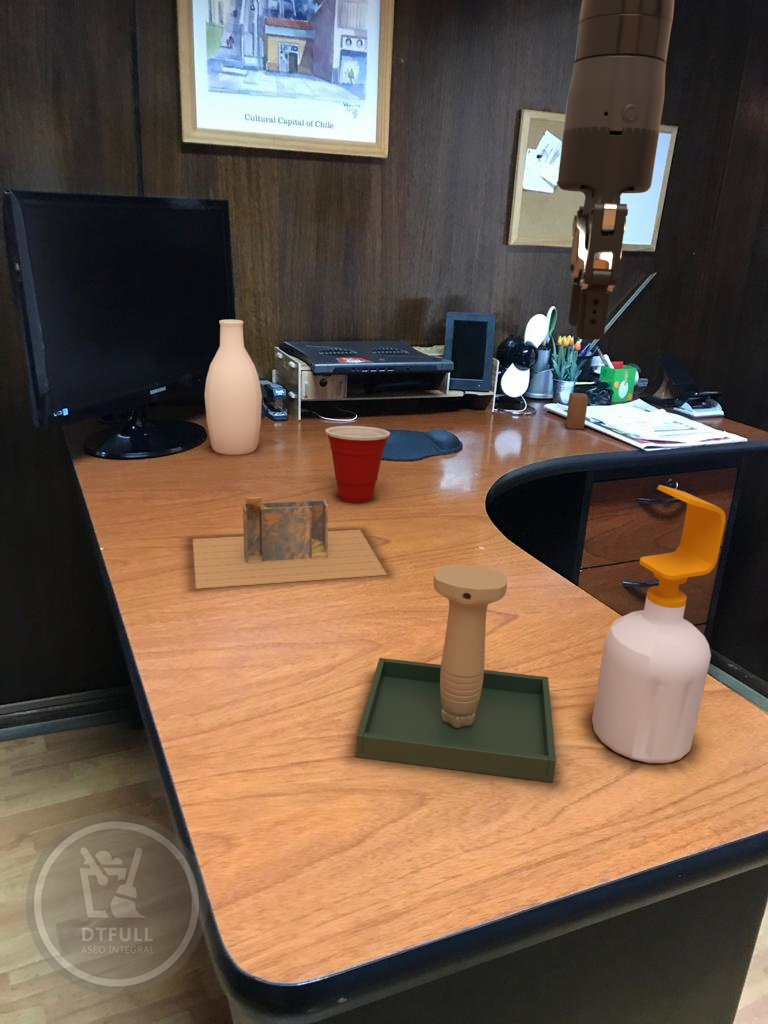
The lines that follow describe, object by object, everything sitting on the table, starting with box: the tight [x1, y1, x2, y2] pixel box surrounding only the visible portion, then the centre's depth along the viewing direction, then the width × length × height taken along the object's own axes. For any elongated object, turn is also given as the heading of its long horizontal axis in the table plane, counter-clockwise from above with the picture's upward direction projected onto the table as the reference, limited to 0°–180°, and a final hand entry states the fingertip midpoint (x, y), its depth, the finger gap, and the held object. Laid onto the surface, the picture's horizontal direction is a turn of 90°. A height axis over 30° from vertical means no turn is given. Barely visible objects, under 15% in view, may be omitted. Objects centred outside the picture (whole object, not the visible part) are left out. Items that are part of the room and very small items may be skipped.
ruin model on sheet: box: [192, 495, 388, 590], centre depth 106 cm, size 25×16×10 cm, turn 104°
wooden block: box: [565, 392, 589, 430], centre depth 185 cm, size 4×4×8 cm
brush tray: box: [355, 657, 557, 783], centre depth 73 cm, size 17×13×2 cm
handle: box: [433, 564, 508, 728], centre depth 71 cm, size 5×6×15 cm
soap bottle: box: [591, 484, 727, 764], centre depth 69 cm, size 9×9×25 cm
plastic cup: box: [325, 425, 391, 504], centre depth 131 cm, size 11×11×12 cm
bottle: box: [204, 319, 263, 456], centre depth 152 cm, size 11×11×25 cm
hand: (584, 331), depth 68 cm, fingers open, 8 cm apart
